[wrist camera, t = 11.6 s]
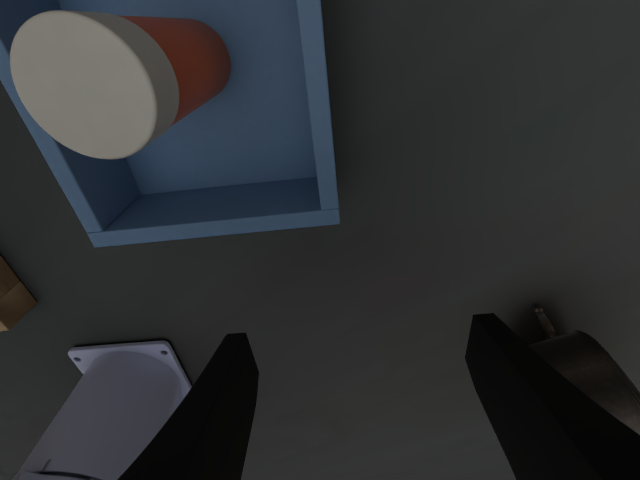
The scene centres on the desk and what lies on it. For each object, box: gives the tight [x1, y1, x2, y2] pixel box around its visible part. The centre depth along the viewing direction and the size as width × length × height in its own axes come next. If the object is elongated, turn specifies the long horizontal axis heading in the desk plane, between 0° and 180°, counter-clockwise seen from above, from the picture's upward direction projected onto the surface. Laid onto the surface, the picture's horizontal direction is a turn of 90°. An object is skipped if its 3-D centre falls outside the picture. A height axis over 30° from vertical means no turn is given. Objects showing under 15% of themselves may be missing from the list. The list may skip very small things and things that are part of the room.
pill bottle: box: [10, 10, 231, 159], centre depth 12 cm, size 3×3×8 cm
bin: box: [0, 0, 340, 247], centre depth 14 cm, size 14×12×5 cm
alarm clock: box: [529, 304, 640, 435], centre depth 20 cm, size 11×5×16 cm, turn 31°
